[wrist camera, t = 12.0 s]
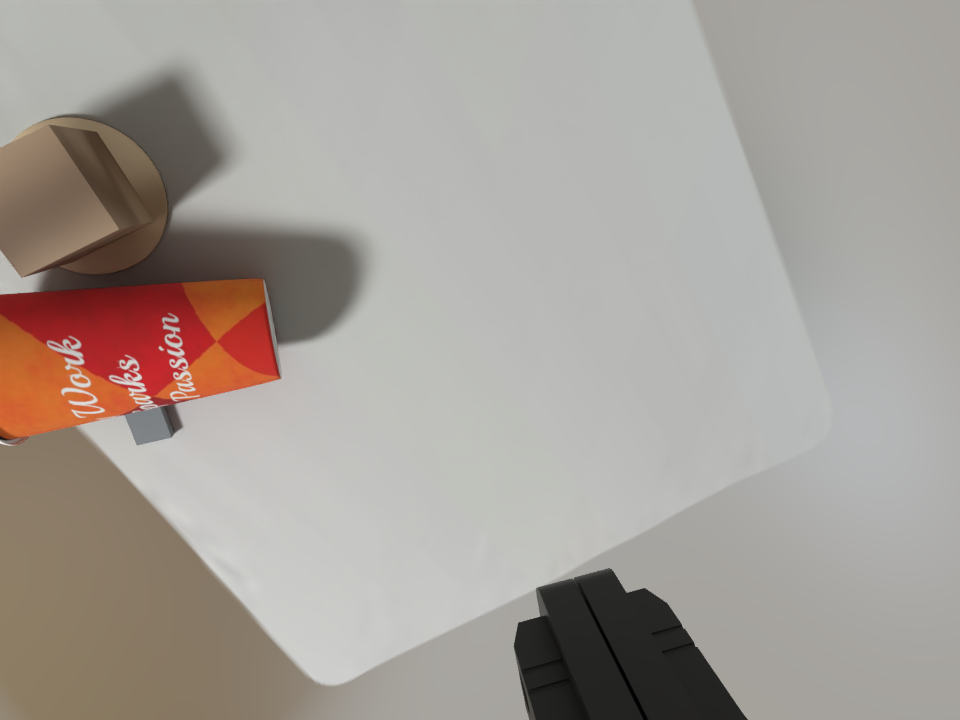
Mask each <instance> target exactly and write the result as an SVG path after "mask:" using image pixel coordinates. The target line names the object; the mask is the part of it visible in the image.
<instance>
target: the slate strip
mask: <svg viewBox="0 0 960 720" xmlns="http://www.w3.org/2000/svg"><path fill="white" fill-rule="evenodd" d="M125 417H126V419H127V422H128V424H129V427H130V429H131V432H132V434H133V437H134V439H135V442H136V444H137V445H140V444H145V443H149V442H154V441H158V440H163V439H167V438H171V437H172V436H173V435H174V431H173V428H172V425H171V423H170V420H169V417H168V415H167V412H166V409H165V407H164V406H162V407H158V408H153V409H149V410H144V411H140V412H135V413H131V414H126V415H125Z"/></svg>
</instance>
